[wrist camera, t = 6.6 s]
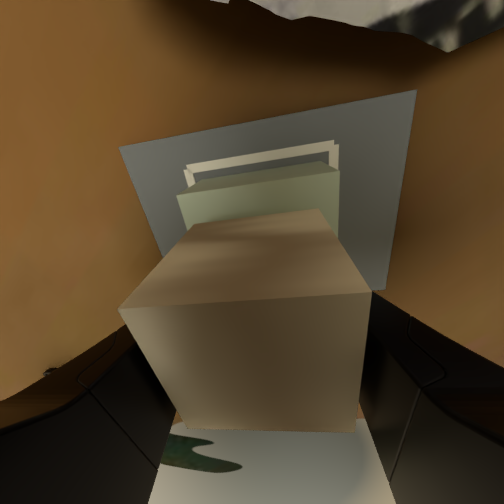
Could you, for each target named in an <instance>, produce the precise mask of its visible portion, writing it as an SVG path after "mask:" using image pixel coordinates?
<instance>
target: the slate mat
mask: <svg viewBox="0 0 504 504" xmlns="http://www.w3.org/2000/svg"><path fill="white" fill-rule="evenodd" d="M416 94H417V90H412V91H407V92H401V93H396V94H391V95H386V96H381V97H376V98H370V99H365V100H360V101H355V102H350V103H344V104H339V105H334V106H329V107H324V108H319V109H313V110H308V111H303V112H298V113H293V114H287V115H282V116H277V117H272V118H267V119H262V120H256V121H251V122H246V123H241V124H236V125H230V126H225V127H220V128H215V129H210V130H205V131H199V132H194V133H189V134H184V135H179V136H174V137H168V138H163V139H158V140H153V141H148V142H142V143H137V144H132V145H127V146H122V147H119V150H120V152H121V155H122V157H123V160H124V162H125V165H126V167H127V170H128V172H129V175H130V177H131V180H132V182H133V185H134V187H135V190H136V192H137V195H138V197H139V200H140V202H141V205H142V207H143V210H144V212H145V215H146V217H147V219H148V222H149V224H150V227H151V229H152V232H153V234H154V237H155V239H156V242H157V244H158V247H159V249H160V252H161V254H162V257H163V258H164V257H165V256H166V254H167V253H168V252H169V251H170V250H171V249H172V248H173V247H174V246H175V245H176V243H177V242H178V241H179V240H180V239H181V238H182V237H183V236H184V235H185V233H186V232H187V228H186V225H185V222H184V218H183V215H182V212H181V209H180V206H179V203H178V200H177V197H176V195H177V194H179V193H181V192H182V191H184V190H186V189H187V188H189V187H191V186H192V185H194V184H195V183H197V182H199V181H200V180H202V179H208V178H215V177H221V176H227V175H234V174H240V173H247V172H253V171H259V170H266V169H272V168H278V167H285V166H291V165H297V164H304V163H310V162H317V161H322V162H324V163H325V164H327V165H329V166H331V167H333V168H335V169H337V170H339V171H340V184H339V218H338V240H339V241H340V243H341V244H342V246H343V247H344V249H345V250H346V252H347V254H348V255H349V257H350V258H351V260H352V261H353V263H354V264H355V266H356V268H357V269H358V271H359V272H360V274H361V275H362V277H363V279H364V280H365V282H366V283H367V285H368V286H369V288H370V289H371V291H372V290H385V288H386V281H387V275H388V269H389V263H390V256H391V250H392V244H393V238H394V231H395V225H396V219H397V213H398V206H399V200H400V194H401V188H402V181H403V175H404V169H405V163H406V156H407V150H408V144H409V138H410V131H411V125H412V119H413V113H414V106H415V100H416Z"/></svg>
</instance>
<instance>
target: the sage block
mask: <svg viewBox="0 0 504 504" xmlns="http://www.w3.org/2000/svg"><path fill="white" fill-rule="evenodd" d="M339 184H340V171H339V170H337V169H335V168H333V167H331V166H329V165H327V164H325V163H324V162H322V161H317V162H310V163H304V164H297V165H291V166H285V167H278V168H272V169H266V170H259V171H253V172H247V173H240V174H234V175H227V176H221V177H215V178H208V179H202V180H200V181H199V182H197V183H195V184H194V185H192V186H191V187H189V188H187V189H186V190H184V191H182V192H181V193H179V194H177V195H176V197H177V200H178V203H179V206H180V209H181V212H182V215H183V218H184V222H185V225H186V228H187V231H188V230H189V229H190V228H191V227H192V226H193V225H194V224H198V223H205V222H213V221H221V220H229V219H237V218H245V217H253V216H261V215H269V214H277V213H285V212H293V211H300V210H308V209H316V208H319V210H320V211H321V213H322V215H323V216H324V218H325V219H326V221H327V222H328V224H329V225H330V227H331V229H332V230H333V232H334V233H335V235H336V236H337V238H338V218H339Z"/></svg>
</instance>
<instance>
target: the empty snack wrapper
mask: <svg viewBox="0 0 504 504" xmlns="http://www.w3.org/2000/svg"><path fill="white" fill-rule="evenodd" d="M212 1H217V2H222V3H227V4H228V3H229V0H212ZM250 1H252V2H254V3H256V4H258V5H260V6H262V7H264V8H266V9H268V10H270V11H272V12H273V13H274V14H276V15H279V16H281V17H284V18H287V19H290V20H294V19H298V18H302V17H306V16H314V17H319V18H324V19H330V20H335V21H340V22H345V23H347V24H350V25H353V26H363V27H367V28H369V29H371V30H374V31H386V32H401V33H406V34H410V35H413V36H414V37H416V38H418V39H420V40H421V41H424V42H426V43H428V44H430V45H432V46H435V47H437V48H439V49H441V50H443V51H445V52H450V51H452V50H454V49H457V48H459V47H461V46H463V45H465V44H468V43H470V42H472V41H474V40H476V39H479V38H481V37H483V36H485V35H487V34H490V33H492V32H494V31H496V30H498V29H501V28H503V27H504V0H250Z"/></svg>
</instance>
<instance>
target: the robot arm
mask: <svg viewBox="0 0 504 504" xmlns="http://www.w3.org/2000/svg"><path fill="white" fill-rule="evenodd" d="M43 375H44V376H45V377H43V378H41V379H40V380H38V381H37V382H35V383H33V384H32V385H30V386H29V387H27V388H25V389H24V390H22V391H20V392H18V393H17V394H15V395H13V396H11V397H9V398H7V399H5V400H2V401H0V504H148V501H149V498H150V494H151V492H152V488H153V485H154V482H155V478H156V475H157V472H158V470H157V469H158V468H159V465H160V462H161V459H162V455H163V452H164V449H165V446H166V442H167V439H168V436H169V433H170V429H171V426H172V423H173V420H174V417H175V413H176V408H175V406H174V405H173V403H172V401H171V400H170V398H169V396H168V395H167V393H166V391H165V390H164V388H163V386H162V384H161V383H160V381H159V379H158V378H157V376H156V374H155V373H154V371H153V369H152V367H151V366H150V364H149V362H148V361H147V359H146V357H145V356H144V354H143V352H142V351H141V349H140V347H139V345H138V344H137V342H136V340H135V339H134V337H133V335H132V334H131V332H130V330H129V328H128V327H127V325H126V324H125V325H124V326H122V327H121V328H119V329H118V330H117V331H115V332H114V333H112V334H111V335H109V336H108V337H106V338H105V339H103V340H102V341H100V342H99V343H97V344H96V345H94V346H93V347H91V348H90V349H88V350H87V351H85V352H83V353H82V354H80V355H79V356H77V357H75V358H74V359H72V360H71V361H69V362H67V363H66V364H64V365H63V366H61V367H59V368H58V369H48V370H46V371H45V372H44V373H43ZM359 403H360V406H361V409H362V411H363V414H364V417H365V419H366V422H367V425H368V428H369V430H370V433H371V436H372V439H373V441H374V444H375V447H376V449H377V452H378V454H379V458H380V460H381V463H382V465H383V468H384V471H385V474H386V477H387V479H388V481H389V485H390V488H391V490H392V493H393V496H394V499H395V501H396V504H504V368H503V367H501V366H499V365H497V364H495V363H494V362H492V361H490V360H488V359H486V358H484V357H482V356H481V355H479V354H477V353H475V352H473V351H471V350H469V349H468V348H466V347H464V346H462V345H460V344H459V343H457V342H455V341H453V340H451V339H450V338H448V337H446V336H444V335H442V334H441V333H439V332H437V331H436V330H434V329H432V328H431V327H429V326H427V325H426V324H424V323H422V322H421V321H419V320H418V319H416V318H414V317H413V316H411V317H410V315H409V314H408V313H406V312H405V311H403V310H402V309H400V308H398V307H397V306H395V305H394V304H392V303H390V302H389V301H387V300H386V299H384V298H382V297H381V296H379V295H378V294H376V293H374V292H373V291H372V297H371V305H370V313H369V321H368V329H367V337H366V345H365V353H364V362H363V370H362V378H361V386H360V394H359Z"/></svg>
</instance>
